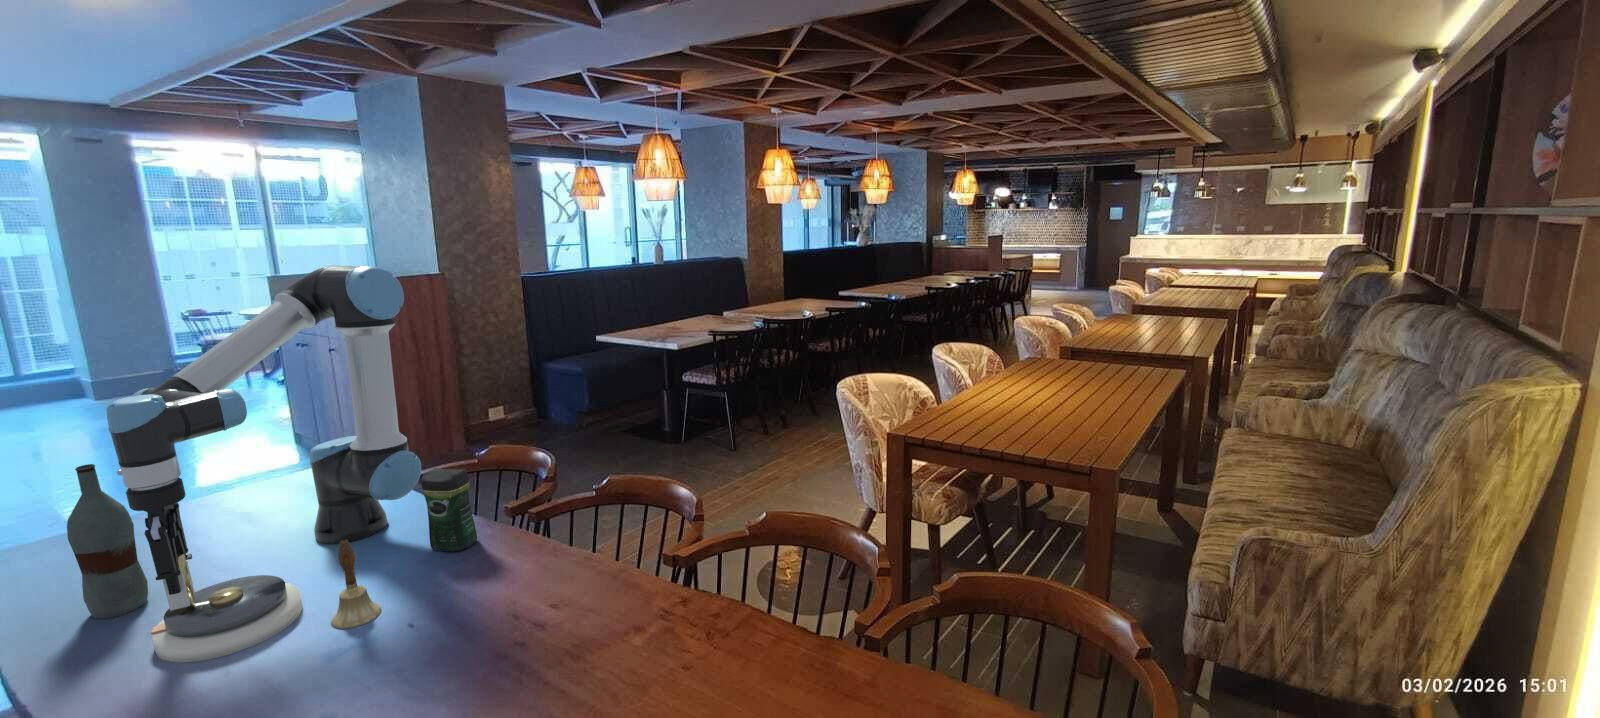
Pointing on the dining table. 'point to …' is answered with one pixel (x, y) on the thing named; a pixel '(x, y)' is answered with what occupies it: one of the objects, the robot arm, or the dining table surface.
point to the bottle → (105, 550)
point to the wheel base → (227, 634)
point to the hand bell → (352, 595)
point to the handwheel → (224, 604)
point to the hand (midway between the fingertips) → (182, 601)
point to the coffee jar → (449, 509)
